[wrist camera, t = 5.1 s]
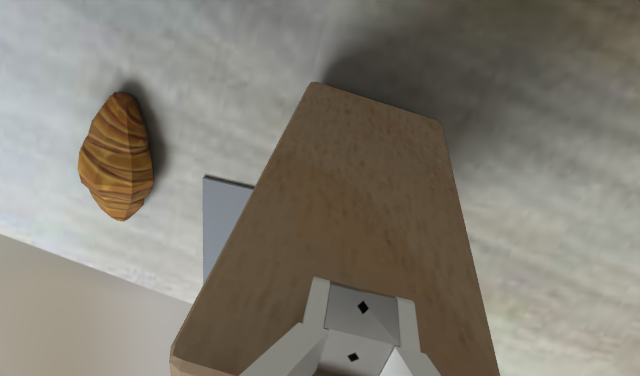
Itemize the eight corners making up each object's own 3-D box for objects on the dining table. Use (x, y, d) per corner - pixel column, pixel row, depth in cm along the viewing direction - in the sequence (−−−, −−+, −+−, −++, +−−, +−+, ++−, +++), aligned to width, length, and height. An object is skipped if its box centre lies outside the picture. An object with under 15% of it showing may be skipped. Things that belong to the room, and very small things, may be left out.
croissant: (161, 222, 36) (132, 254, 31) (98, 199, 35) (60, 229, 31) (173, 104, 28) (137, 126, 24) (94, 74, 28) (44, 91, 24)
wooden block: (310, 77, 24) (159, 357, 9) (443, 119, 24) (529, 466, 9) (285, 182, 30) (172, 451, 15) (391, 214, 31) (388, 513, 15)
